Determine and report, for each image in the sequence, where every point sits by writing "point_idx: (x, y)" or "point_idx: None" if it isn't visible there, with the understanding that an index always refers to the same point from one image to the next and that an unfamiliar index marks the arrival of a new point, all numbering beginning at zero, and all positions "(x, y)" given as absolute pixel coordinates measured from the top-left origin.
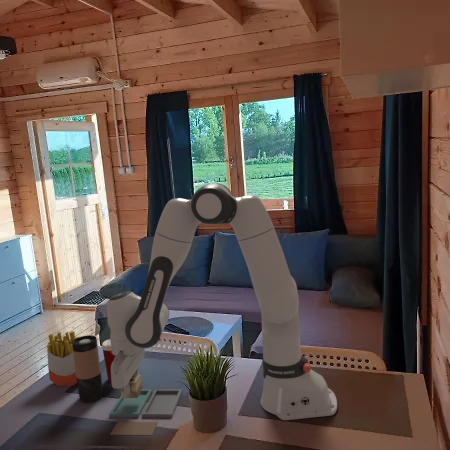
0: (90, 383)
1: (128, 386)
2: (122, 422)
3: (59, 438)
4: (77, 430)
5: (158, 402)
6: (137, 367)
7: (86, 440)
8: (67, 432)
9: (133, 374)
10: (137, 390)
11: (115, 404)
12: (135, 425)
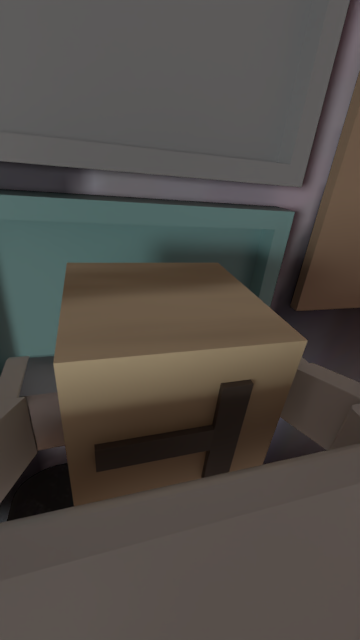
0: None
1: (351, 379)
2: (309, 285)
3: (314, 446)
4: (290, 424)
5: (106, 77)
6: (63, 546)
7: (355, 372)
8: (291, 444)
9: (15, 455)
10: (222, 284)
11: None
12: (357, 204)
